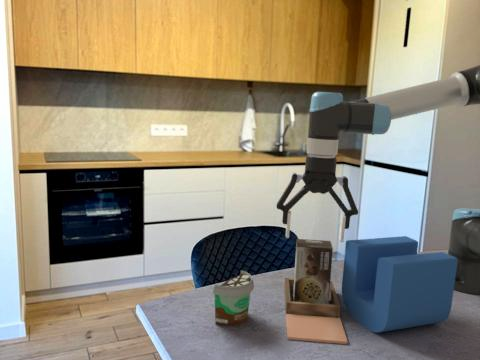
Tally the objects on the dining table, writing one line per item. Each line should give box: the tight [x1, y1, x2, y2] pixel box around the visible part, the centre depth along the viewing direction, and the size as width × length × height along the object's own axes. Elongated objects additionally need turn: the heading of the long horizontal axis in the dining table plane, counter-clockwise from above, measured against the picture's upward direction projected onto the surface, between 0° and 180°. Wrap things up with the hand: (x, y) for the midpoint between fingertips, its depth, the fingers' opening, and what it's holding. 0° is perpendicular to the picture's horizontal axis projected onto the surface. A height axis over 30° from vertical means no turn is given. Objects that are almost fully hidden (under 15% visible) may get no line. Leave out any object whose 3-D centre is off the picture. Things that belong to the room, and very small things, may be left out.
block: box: [341, 235, 458, 334], centre depth 111 cm, size 18×18×18 cm
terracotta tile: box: [285, 313, 349, 345], centre depth 105 cm, size 13×11×1 cm
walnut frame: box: [283, 277, 341, 319], centre depth 119 cm, size 13×16×3 cm
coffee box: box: [292, 238, 334, 304], centre depth 118 cm, size 9×6×16 cm
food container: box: [212, 269, 255, 327], centre depth 107 cm, size 12×6×10 cm, turn 148°
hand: (314, 238), depth 117 cm, fingers open, 13 cm apart
